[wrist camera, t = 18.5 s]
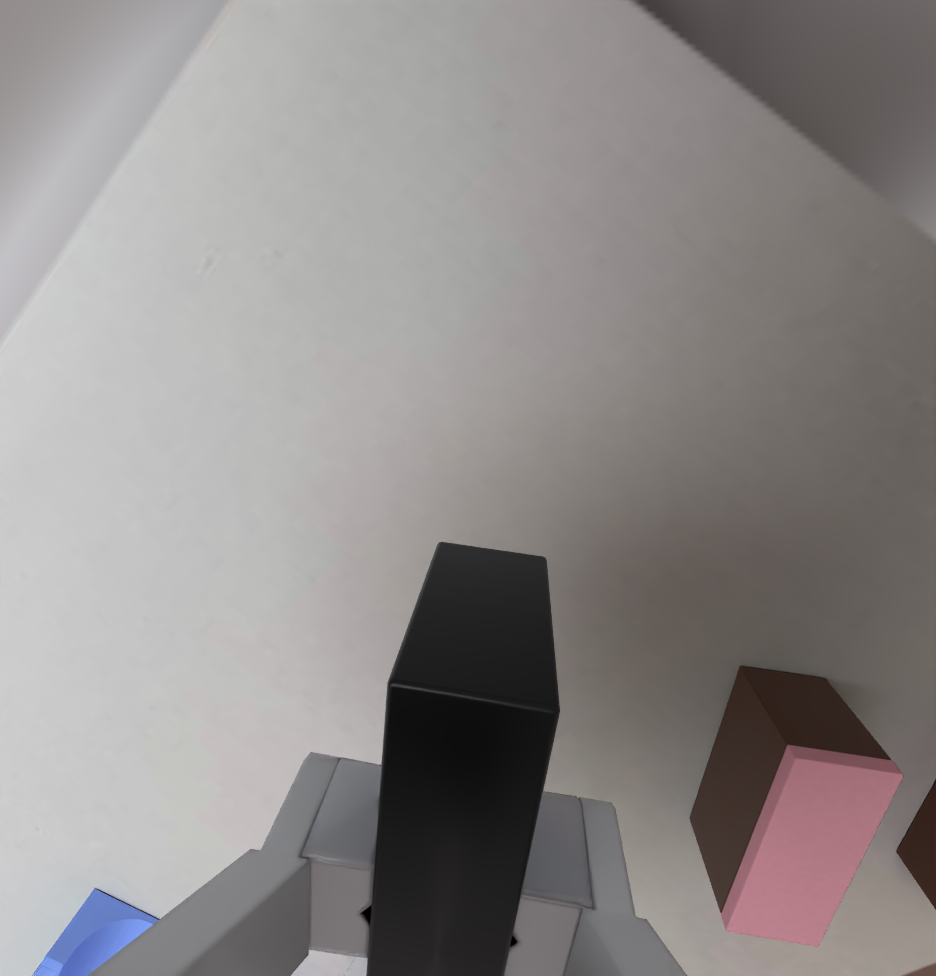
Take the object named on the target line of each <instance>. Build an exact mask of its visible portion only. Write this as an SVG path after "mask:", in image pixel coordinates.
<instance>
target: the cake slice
mask: <svg viewBox="0 0 936 976" xmlns="http://www.w3.org/2000/svg"><path fill="white" fill-rule="evenodd" d="M903 776H904V774H903V773H902V772H901V770H900V769H899V768H898V767H897V765H896V764H895V763H894V762H893V761H892V760H891V759H890V757H889V756H888V755H887V754H886V752H885V751H884V750H883V749H882V747H881V746H880V745H879V744H878V743H877V741H876V740H875V739H874V738H873V736H872V735H871V734H870V733H869V731H868V730H867V729H866V728H865V727H864V725H863V724H862V723H861V722H860V720H859V719H858V718H857V717H856V715H855V714H854V713H853V712H852V710H851V709H850V708H849V707H848V706H847V704H846V703H845V702H844V701H843V699H842V698H841V697H840V696H839V694H838V693H837V692H836V691H835V689H834V688H833V687H832V686H831V685H830V683H829V682H828V681H827V680H826V679H825V678H818V677H812V676H805V675H798V674H791V673H784V672H777V671H770V670H763V669H756V668H749V667H742V666H741V667H740V669H739V672H738V675H737V678H736V681H735V684H734V687H733V690H732V693H731V696H730V699H729V702H728V705H727V708H726V711H725V714H724V717H723V720H722V723H721V726H720V729H719V732H718V735H717V738H716V741H715V744H714V747H713V750H712V753H711V756H710V759H709V762H708V765H707V768H706V771H705V774H704V777H703V780H702V783H701V786H700V789H699V792H698V795H697V798H696V801H695V804H694V807H693V810H692V813H691V816H690V821H691V824H692V827H693V830H694V833H695V836H696V839H697V842H698V845H699V848H700V851H701V855H702V858H703V861H704V864H705V867H706V870H707V873H708V876H709V879H710V882H711V885H712V888H713V891H714V894H715V897H716V900H717V904H718V907H719V910H720V912H721V917H722V920H723V923H724V926H725V929H726V931H729V932H735V933H741V934H747V935H753V936H758V937H764V938H770V939H776V940H782V941H788V942H794V943H799V944H805V945H811V946H817V947H818V946H819V944H820V942H821V940H822V938H823V936H824V934H825V932H826V930H827V928H828V926H829V924H830V922H831V920H832V918H833V916H834V914H835V912H836V910H837V908H838V906H839V904H840V902H841V900H842V898H843V896H844V894H845V892H846V890H847V888H848V886H849V884H850V882H851V880H852V878H853V876H854V874H855V872H856V870H857V868H858V866H859V864H860V862H861V860H862V858H863V856H864V854H865V852H866V850H867V848H868V846H869V844H870V842H871V840H872V838H873V836H874V834H875V832H876V830H877V828H878V826H879V824H880V822H881V820H882V818H883V816H884V814H885V812H886V810H887V808H888V806H889V804H890V802H891V800H892V798H893V796H894V794H895V792H896V790H897V788H898V786H899V784H900V782H901V780H902V778H903Z"/></svg>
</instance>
